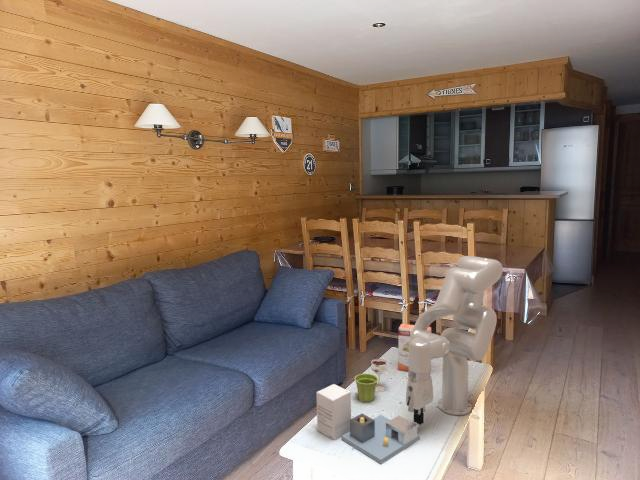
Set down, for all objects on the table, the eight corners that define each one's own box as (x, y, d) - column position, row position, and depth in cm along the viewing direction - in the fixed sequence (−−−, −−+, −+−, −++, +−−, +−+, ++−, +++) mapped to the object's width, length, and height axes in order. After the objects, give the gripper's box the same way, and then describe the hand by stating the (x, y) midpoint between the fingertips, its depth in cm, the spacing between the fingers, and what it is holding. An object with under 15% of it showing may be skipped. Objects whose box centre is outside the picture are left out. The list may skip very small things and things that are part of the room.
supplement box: (334, 420, 171) (333, 382, 169) (352, 430, 165) (351, 391, 162) (316, 430, 165) (315, 391, 163) (333, 440, 159) (333, 400, 156)
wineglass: (386, 393, 191) (386, 365, 189) (370, 391, 192) (370, 364, 190) (387, 385, 197) (387, 359, 196) (372, 384, 199) (371, 358, 197)
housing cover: (398, 427, 163) (399, 415, 163) (417, 436, 157) (417, 424, 156) (385, 434, 159) (385, 422, 158) (404, 445, 153) (404, 432, 152)
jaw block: (374, 436, 158) (374, 420, 157) (362, 443, 154) (362, 426, 153) (362, 429, 163) (362, 413, 162) (350, 435, 159) (349, 419, 158)
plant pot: (363, 390, 193) (363, 371, 192) (382, 397, 188) (382, 377, 186) (350, 399, 186) (349, 379, 185) (369, 406, 180) (369, 386, 179)
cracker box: (397, 370, 212) (397, 327, 208) (400, 365, 217) (401, 322, 214) (428, 375, 206) (429, 330, 203) (430, 369, 212) (431, 326, 208)
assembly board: (380, 418, 172) (380, 397, 171) (419, 439, 158) (420, 416, 157) (341, 440, 159) (341, 416, 158) (380, 464, 146) (380, 439, 144)
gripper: (414, 384, 153) (413, 435, 156) (440, 371, 163) (439, 419, 166) (397, 377, 159) (396, 426, 162) (423, 364, 169) (422, 411, 171)
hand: (418, 422), depth 164 cm, fingers closed
